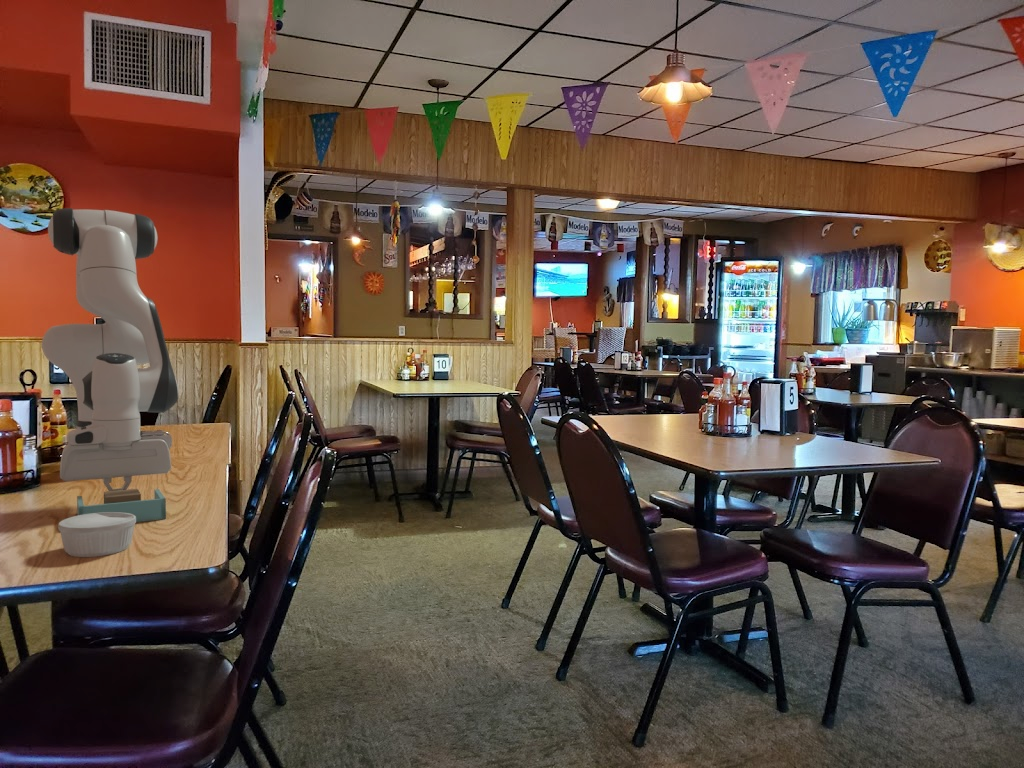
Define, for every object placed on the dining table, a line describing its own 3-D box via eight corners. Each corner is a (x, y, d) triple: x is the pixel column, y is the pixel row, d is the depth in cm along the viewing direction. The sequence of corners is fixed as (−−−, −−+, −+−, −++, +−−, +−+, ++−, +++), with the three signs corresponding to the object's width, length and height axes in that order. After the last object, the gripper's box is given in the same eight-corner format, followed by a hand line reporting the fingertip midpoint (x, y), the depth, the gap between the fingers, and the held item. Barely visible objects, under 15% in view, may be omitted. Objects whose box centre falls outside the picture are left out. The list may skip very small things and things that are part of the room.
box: (77, 516, 141) (77, 496, 141) (158, 507, 149) (158, 489, 149) (79, 528, 132) (78, 507, 132) (165, 518, 140) (165, 498, 140)
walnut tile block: (104, 516, 142) (103, 491, 142) (137, 512, 145) (137, 488, 145) (106, 523, 137) (105, 497, 136) (141, 519, 140) (140, 494, 140)
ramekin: (148, 541, 125) (148, 511, 125) (114, 560, 114) (113, 528, 113) (84, 540, 125) (83, 510, 124) (43, 560, 114) (43, 527, 113)
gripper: (169, 427, 155) (170, 490, 156) (58, 433, 144) (60, 500, 145) (173, 431, 150) (174, 495, 151) (59, 437, 139) (60, 506, 140)
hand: (117, 498), depth 148 cm, fingers closed
